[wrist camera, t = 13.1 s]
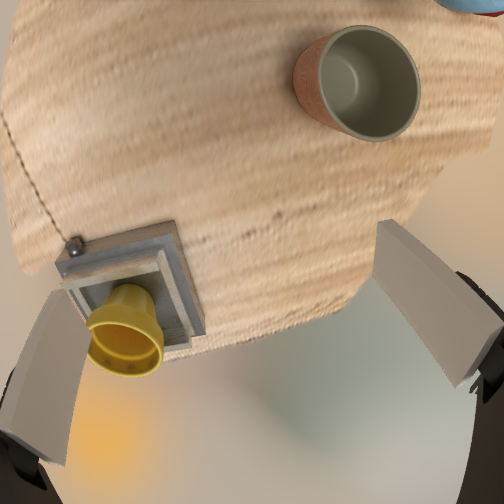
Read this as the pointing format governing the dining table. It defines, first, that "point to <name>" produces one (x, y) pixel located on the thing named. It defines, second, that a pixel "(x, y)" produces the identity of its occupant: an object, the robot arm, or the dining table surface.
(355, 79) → the planter
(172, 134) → the dining table surface
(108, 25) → the dining table surface
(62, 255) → the grey square tray
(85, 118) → the dining table surface
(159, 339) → the plant pot
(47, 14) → the dining table surface
